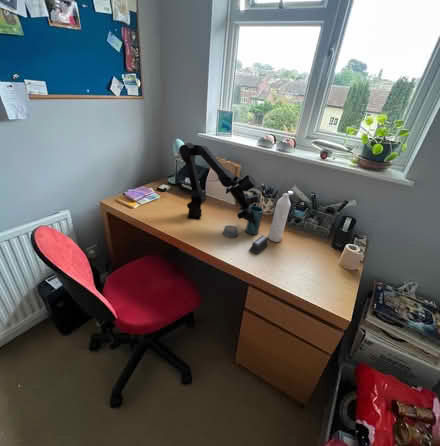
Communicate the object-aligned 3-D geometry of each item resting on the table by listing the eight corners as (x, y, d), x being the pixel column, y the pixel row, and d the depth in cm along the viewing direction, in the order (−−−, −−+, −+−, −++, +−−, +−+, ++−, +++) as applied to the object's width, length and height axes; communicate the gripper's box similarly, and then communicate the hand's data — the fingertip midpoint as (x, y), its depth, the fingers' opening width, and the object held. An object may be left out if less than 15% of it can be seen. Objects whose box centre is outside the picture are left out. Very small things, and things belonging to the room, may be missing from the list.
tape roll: (223, 236, 123) (224, 231, 121) (223, 229, 128) (224, 224, 126) (236, 238, 123) (237, 232, 121) (236, 231, 128) (237, 225, 127)
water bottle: (276, 243, 122) (289, 197, 109) (265, 238, 125) (276, 192, 113) (285, 237, 128) (298, 193, 115) (274, 232, 131) (286, 189, 118)
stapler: (256, 254, 113) (258, 246, 110) (249, 250, 114) (251, 243, 112) (267, 245, 120) (269, 237, 118) (260, 242, 122) (262, 234, 120)
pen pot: (246, 233, 126) (250, 211, 120) (245, 226, 132) (249, 205, 125) (258, 235, 126) (263, 212, 120) (257, 228, 132) (262, 206, 125)
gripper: (247, 194, 110) (266, 221, 113) (256, 182, 126) (273, 206, 129) (229, 205, 116) (247, 231, 119) (239, 192, 132) (255, 215, 135)
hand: (256, 220), depth 125 cm, fingers closed on pen pot, 7 cm apart
